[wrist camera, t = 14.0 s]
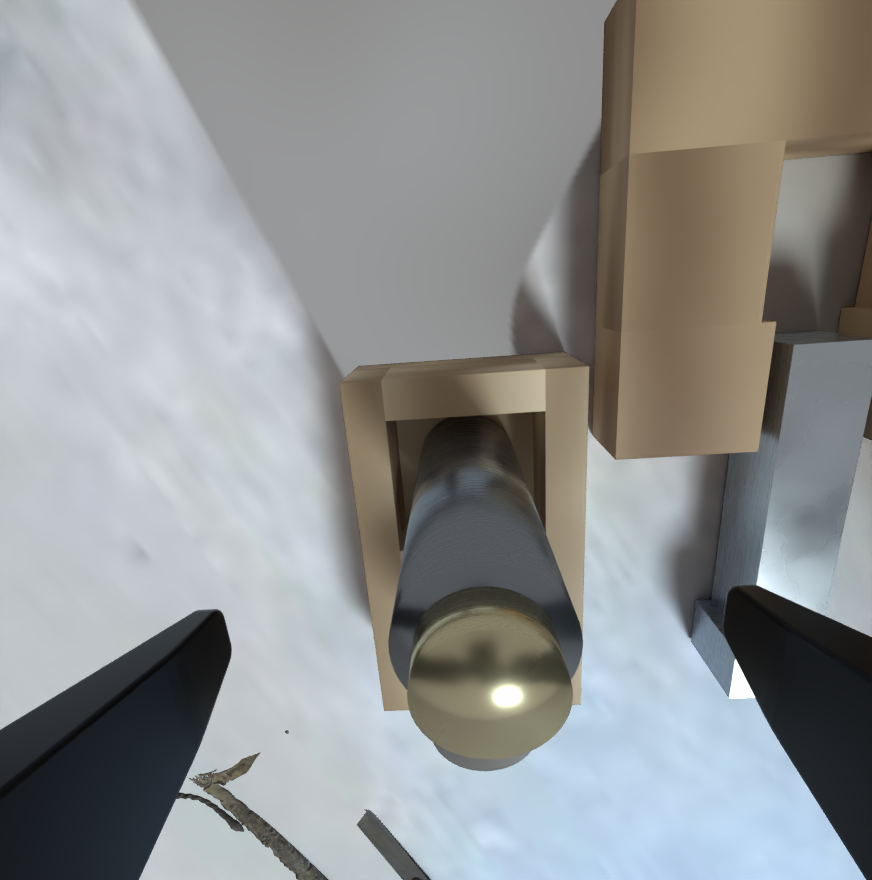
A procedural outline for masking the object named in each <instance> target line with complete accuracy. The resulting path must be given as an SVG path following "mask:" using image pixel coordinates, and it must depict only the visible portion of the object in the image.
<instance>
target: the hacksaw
mask: <svg viewBox="0 0 872 880" xmlns="http://www.w3.org/2000/svg"><path fill="white" fill-rule="evenodd" d="M285 733H287V734H288V733H289V731H285ZM259 754H260V753H258V754H255V755H252V756H249V757H246V758H244V759H241V760H240V762H239V763H238V764H236V765H235V766H233V767H232V768H230V769H228V770H225V771H222V772H220V773H213V774H211V773H212V772H209V773H205V774H198V776H200V777H198V778H199V781H198V778H197V776H195V777H196V778H197V779H196V780H195V779H194V778H193V779H191V778H189V779H190V780H193V781H196V782H194V783H196V784H197V785H199V786H200V787H205V788H204V791H206V792H207V793H208V794H210V795H212V796H213V797H214V798H216V799H219V800H220V802H221V805H222V806H223V807H224V808H225V809H226V810H228V811H230V812H231V813H232V814H233V815H234V816H235V817H236V819H238V820H239V821H240V822H241V823H242V825H244V826H246V827H247V829H248V830H249V831H251V832H252V833H253V834H254V835H255V836H256V838H257V839H258V840H260V841H261V842H262V844H265V847H269V846H270V848H271V849H272V850H273V853H274V855H275V856H276V857H278V858H279V859H280V862H282V863H283V864H284V866H286V867H288V868H289V870H290V871H293V872H294V873H295V874H296V879H298V880H328V879H327V878H326V877H325V876H324V875H323V874H322V873H321V872H320V871H319V870H318V869H317V868H316V867H315V866H314V865H313V864H311V863H310V861H309V860H308V859H306V858H305V857H304V856H303V855H302V854H301V853H300V852H299V851H298V850H297V849H296V848H295V847H294V846H293V845H292V844H290V843H289V842H288V841H287V840H286V839H285V838H284V837H283V836H282V835H281V834H280V833H278V832H277V831H276V830H275V829H274V828H273V827H272V826H270V825H269V824H268V823H267V822H266V821H265V820H263V819H262V818H261V817H260V816H259V815H257V814H256V813H254V812H253V811H252V810H250V809H249V808H248V807H247V806H246V805H245V804H244V803H243V802H241V801H240V800H238V799H236V798H235V797H234V796H232V794H231V793H230V792H229V791H228V790H226V789H225V788H223V787H221V786H219V785H218V784H221V785H223V786H224V785H226V782H229V780H232V781H233V780H234V779H236V778H237V777H239V776H241V775H243V774H245V773H246V772H247V771H248V770H249V769H250V767H251V766H252V764H253V762H254V761H255V759H256V758H257V756H258V755H259ZM216 770H217V769H216ZM216 770H214V771H216ZM214 771H213V772H214ZM205 775H208V777H206V778H207V779H206V778H205ZM201 776H204V777H203V779H204V780H203V779H202V777H201ZM210 779H211V780H210ZM178 798H184V799H187V798H190V799H192V800H199V801H200V802H202V803H205V804H206V805H207V806H209V807H211V808H213V809H214V810H215V812H216V813H218V814H219V815H220V816H221V817H222V818H223V819H225V820H226V822H227V823H228V824H229V826H230V827H231V829H233V830H235V831H242V832H243V831H244V829H243V827H242V825H241V824H240V823H239V822H238V821H237V820H234V819H233V818H232V817H231V816H230V815H228V814H227V813H226V812H225V811H224V810H222V809H220V808H219V807H218V806H217V805H215V804H213V803H212V802H211V801H210V800H207V799H204V798H202V797H200V796H196V795H193V794H184V793H178V795H177V797H176V799H178ZM364 810H365V809H364ZM366 811H367V812H366V813H365V814H364V816H363V817H362V818H361V820H360V821H359V822H358V824H357V826H358V827H359V828H360V829H361V830H362V832H363V833H364V834H365V835H366V836H367V838H368V839H369V840H370V841H371V842H372V844H373V845H374V846H375V847H376V848H377V849H378V851H379V852H380V853H381V854H382V855H383V857H384V858H385V859H386V860H387V861H388V863H389V864H390V865H391V866H392V867H393V869H394V870H395V871H396V872H397V873H398V875H399V876H400V877H401V878H402V879H403V880H429V879H427V877H426V876H425V874H423V872H422V871H421V869H419V868H418V866H417V865H416V864H415V863H414V861H412V859H411V858H410V856H409V855H408V853H406V852H405V850H403V848H402V847H401V845H399V843H398V842H397V840H396V839H394V837H393V836H392V834H390V832H389V831H388V829H387V828H385V826H384V825H383V823H381V821H380V820H379V818H377V817H376V815H374V813H372V812H371V811H370V810H366Z"/></svg>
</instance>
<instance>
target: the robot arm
mask: <svg viewBox="0 0 872 880" xmlns="http://www.w3.org/2000/svg"><path fill="white" fill-rule="evenodd" d="M723 632H724V636H725V639H726V641H727V643H728V645H729V647H730V649H731V651H732V653H733V655H734V657H735V659H736V661H737V663H738V665H739V667H740V669H741V671H742V673H743V675H744V677H745V679H746V681H747V683H748V685H749V687H750V689H751V691H752V693H753V695H754V696H755V698H756V700H757V702H758V704H759V706H760V708H761V710H762V712H763V714H764V716H765V718H766V720H767V722H768V723H769V725H770V727H771V729H772V730H773V732H774V734H775V735H776V737H777V739H778V740H779V742H780V744H781V745H782V747H783V748H784V750H785V752H786V753H787V755H788V756H789V758H790V759H791V761H792V763H793V764H794V766H795V767H796V769H797V771H798V772H799V774H800V775H801V777H802V779H803V780H804V782H805V783H806V785H807V786H808V788H809V790H810V791H811V793H812V794H813V796H814V798H815V799H816V801H817V802H818V804H819V806H820V807H821V809H822V810H823V812H824V813H825V815H826V817H827V818H828V820H829V821H830V823H831V825H832V826H833V828H834V829H835V831H836V832H837V834H838V836H839V837H840V839H841V840H842V842H843V844H844V845H845V847H846V848H847V850H848V852H849V853H850V855H851V856H852V858H853V859H854V861H855V863H856V864H857V866H858V867H859V869H860V871H861V872H862V874H863V875H864V877H865V878H866V880H872V637H870V636H868V635H866V634H863V633H861V632H859V631H857V630H855V629H852V628H850V627H848V626H846V625H844V624H841V623H839V622H837V621H835V620H833V619H830V618H828V617H826V616H824V615H822V614H819V613H817V612H815V611H813V610H811V609H808V608H806V607H804V606H802V605H800V604H797V603H795V602H793V601H791V600H789V599H786V598H784V597H782V596H780V595H778V594H775V593H773V592H771V591H769V590H767V589H764V588H762V587H760V586H757V585H739V586H732V587H731V588H729V590H728V593H727V598H726V605H725V613H724V620H723ZM231 652H232V649H231V642H230V638H229V634H228V630H227V626H226V623H225V619H224V615H223V613H222V612H221V611H220V610H218V609H211V610H198V611H195V612H193V613H192V614H190V615H188V616H187V617H185V618H183V619H182V620H180V621H178V622H177V623H175V624H173V625H172V626H170V627H169V628H167V629H165V630H164V631H162V632H160V633H159V634H157V635H155V636H154V637H152V638H150V639H149V640H147V641H146V642H144V643H142V644H141V645H139V646H137V647H136V648H134V649H132V650H131V651H129V652H127V653H126V654H124V655H123V656H121V657H119V658H118V659H116V660H114V661H113V662H111V663H109V664H108V665H106V666H104V667H103V668H101V669H100V670H98V671H96V672H95V673H93V674H91V675H90V676H88V677H86V678H85V679H83V680H81V681H80V682H78V683H77V684H75V685H73V686H72V687H70V688H68V689H67V690H65V691H63V692H62V693H60V694H58V695H57V696H55V697H54V698H52V699H50V700H49V701H47V702H45V703H44V704H42V705H40V706H39V707H37V708H35V709H34V710H32V711H31V712H29V713H27V714H26V715H24V716H22V717H21V718H19V719H17V720H16V721H14V722H12V723H11V724H9V725H8V726H6V727H4V728H3V729H1V730H0V880H139V878H140V876H141V874H142V872H143V869H144V867H145V865H146V863H147V861H148V859H149V856H150V854H151V852H152V850H153V848H154V845H155V843H156V841H157V839H158V837H159V835H160V832H161V830H162V828H163V826H164V824H165V821H166V819H167V817H168V815H169V813H170V811H171V808H172V806H173V804H174V802H175V800H176V797H177V795H178V793H179V791H180V789H181V787H182V784H183V782H184V780H185V778H186V776H187V773H188V771H189V769H190V767H191V765H192V763H193V760H194V758H195V756H196V753H197V751H198V749H199V747H200V744H201V741H202V739H203V736H204V734H205V731H206V728H207V725H208V722H209V720H210V717H211V714H212V711H213V708H214V705H215V702H216V699H217V697H218V694H219V691H220V688H221V685H222V682H223V679H224V676H225V674H226V671H227V668H228V665H229V662H230V659H231Z"/></svg>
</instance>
